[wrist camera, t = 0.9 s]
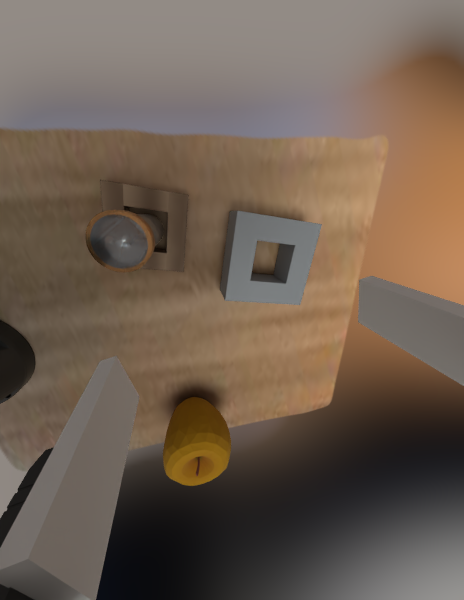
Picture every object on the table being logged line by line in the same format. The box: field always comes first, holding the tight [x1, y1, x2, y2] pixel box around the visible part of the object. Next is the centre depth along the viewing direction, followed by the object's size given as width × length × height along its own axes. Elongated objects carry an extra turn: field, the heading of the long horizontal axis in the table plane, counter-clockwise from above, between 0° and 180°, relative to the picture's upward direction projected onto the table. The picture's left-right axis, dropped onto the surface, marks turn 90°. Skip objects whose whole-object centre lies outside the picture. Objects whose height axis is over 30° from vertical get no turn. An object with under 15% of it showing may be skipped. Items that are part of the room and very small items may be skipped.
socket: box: [220, 211, 322, 305], centre depth 32 cm, size 12×12×5 cm
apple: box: [163, 397, 231, 486], centre depth 38 cm, size 11×11×13 cm
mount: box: [100, 180, 189, 272], centre depth 29 cm, size 10×10×2 cm
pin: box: [86, 210, 164, 272], centre depth 23 cm, size 5×5×15 cm
